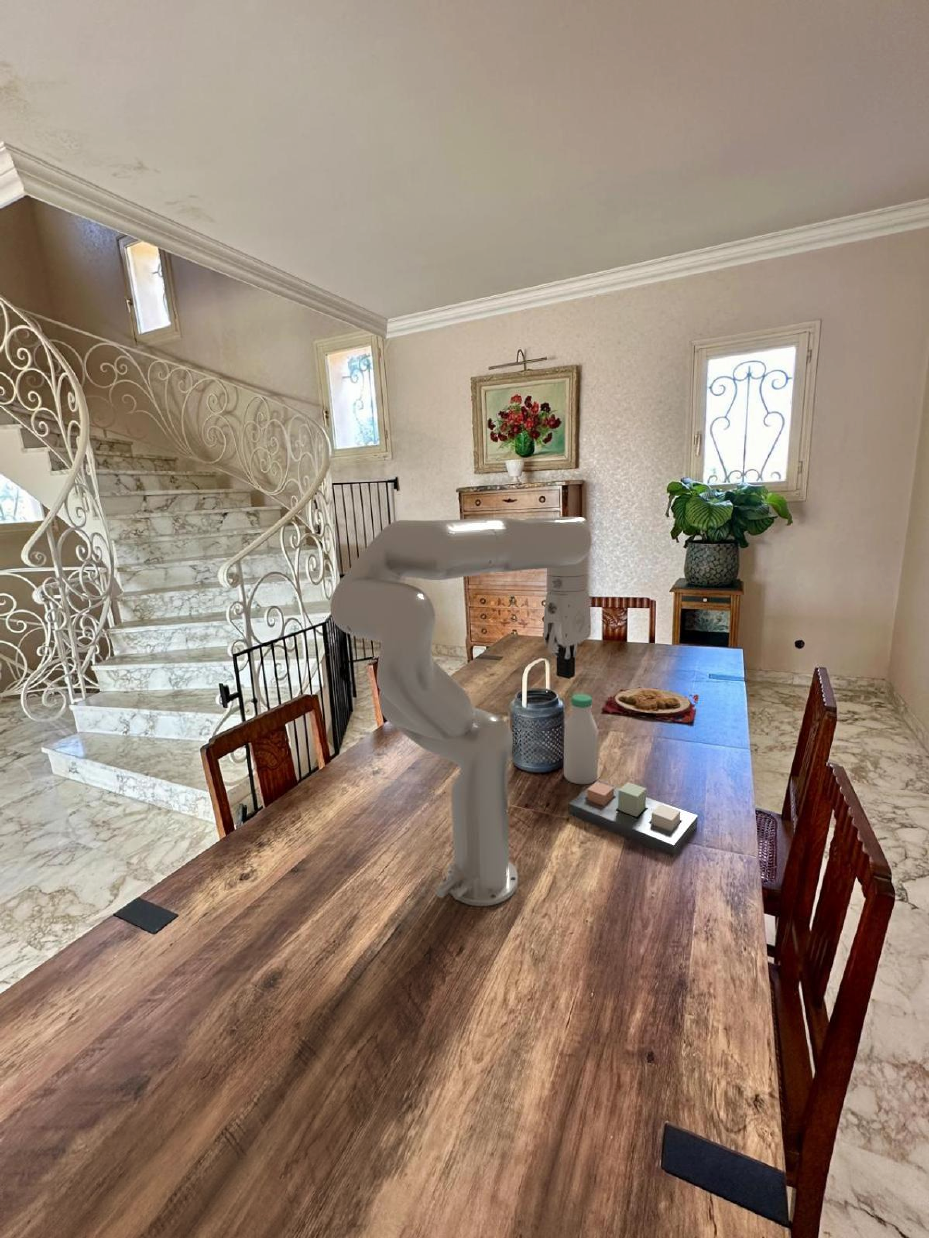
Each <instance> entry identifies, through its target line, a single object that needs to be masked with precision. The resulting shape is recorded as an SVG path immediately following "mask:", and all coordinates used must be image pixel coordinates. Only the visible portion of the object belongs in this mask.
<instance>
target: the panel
mask: <svg viewBox="0 0 929 1238" xmlns="http://www.w3.org/2000/svg"><path fill="white" fill-rule="evenodd" d="M596 782H600V783H602V784H605V785H608V786H611V787H614V799H613V800H612V801H611V802H610V803H609V804H608V805H606V806H603V805H600V804H597V803H595V802H592V801H589V800H587V789H588V788H589V787H591V786H592V785H593V784H594V783H596ZM589 787H587V788H586V789H584V790H583V791H582V792H581V793H580V794H579V795H578V796H576V797H575V798H573V799H572V800H571V801H570V802H569V803H568V815H569V816H572V817H574V818H576V819H578V820H581V821H583V822H585V823H588V824H591V825H593V826H596V827H598V828H600V829H603V830H606V831H607V832H610V833H613V834H615V835H618V836H621V837H622V838H624V839H627V840H628V841H632V842H634V843H636V844H640V845H642V846H644V847H647V848H649V849H652V850H654V851H657V852H659V853H660V854H661V853H662V854H664V855H666V856H668V857H671V858H674V857H675V855H676V854H677V853H678V852H679V850H681V848H682V847H683V845H685V843H686V841H687V840H688V839H689V838H690V837H691V835H692V834H693V833H694V832H695V830H696V829H697V827H698V815H697V814H696V813H691V812H689V811H686V810H683V809H681V808H677V807H674V806H672V805H669V804H667V803H663V802H662V801H658V800H655V799H652V798H649V797H647V796H646V806H645V809H644V810H643V811H642V812H641V813H640V814H639V815H638V816H637V817H638V818H637V817H635V816H634V817H633V816H632V815H630V814H629V815H628V814H627V813H625V812H623V811H620V810H618V792H619V789H620V788H621V787H618V786H615V785H612V784H609V783H606V782H604V781H601V780H598V779H596V780H595V781H594V782H593V783H591V785H589ZM660 804H662V805H665V806H668V807H670V808H673V809H676V810H679V811H680V824H679V826H678V827H677V828H676V829H675V830H674V832H671V831H668V830H665V829H663V828H660V827H658V826H655V825H652V824H651V818H652V812H653V811H654V810H655V809H656V808H657V807H658V806H659V805H660Z"/></svg>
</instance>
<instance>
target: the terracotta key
mask: <svg viewBox="0 0 929 1238" xmlns="http://www.w3.org/2000/svg"><path fill="white" fill-rule="evenodd" d="M595 782H596V781H595ZM595 782H593V783H594V784H593V783H592V784H593V785H592V784H591V785H592V786H591V785H590V786H591V787H590V786H589V788H588V787H587V788H588V789H587V788H586V789H587V800H589V801H592V802H595V803H597V804H600V805H603V806H606V805H608V804H609V803H610V802H611V801H612V800H613V799H614V787H611V786H608V785H605V784H602V783H600V782H596V783H595Z"/></svg>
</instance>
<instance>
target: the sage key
mask: <svg viewBox="0 0 929 1238" xmlns="http://www.w3.org/2000/svg"><path fill="white" fill-rule="evenodd" d="M619 788H620V789H619V792H618V810H620V811H623V812H624V814H627V815H628V814H629V815H630V816H632V817H633V816H634V817H635V818H637V817H639V816H638V815H639V814H640V813H641V812H642V811H643V810H644V809H645V806H646V797H647V788H646V787H644V786H641V785H638V784H635V783H631V782H628V781H627V782H626V783H625V784H623V785H622V787H619Z"/></svg>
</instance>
